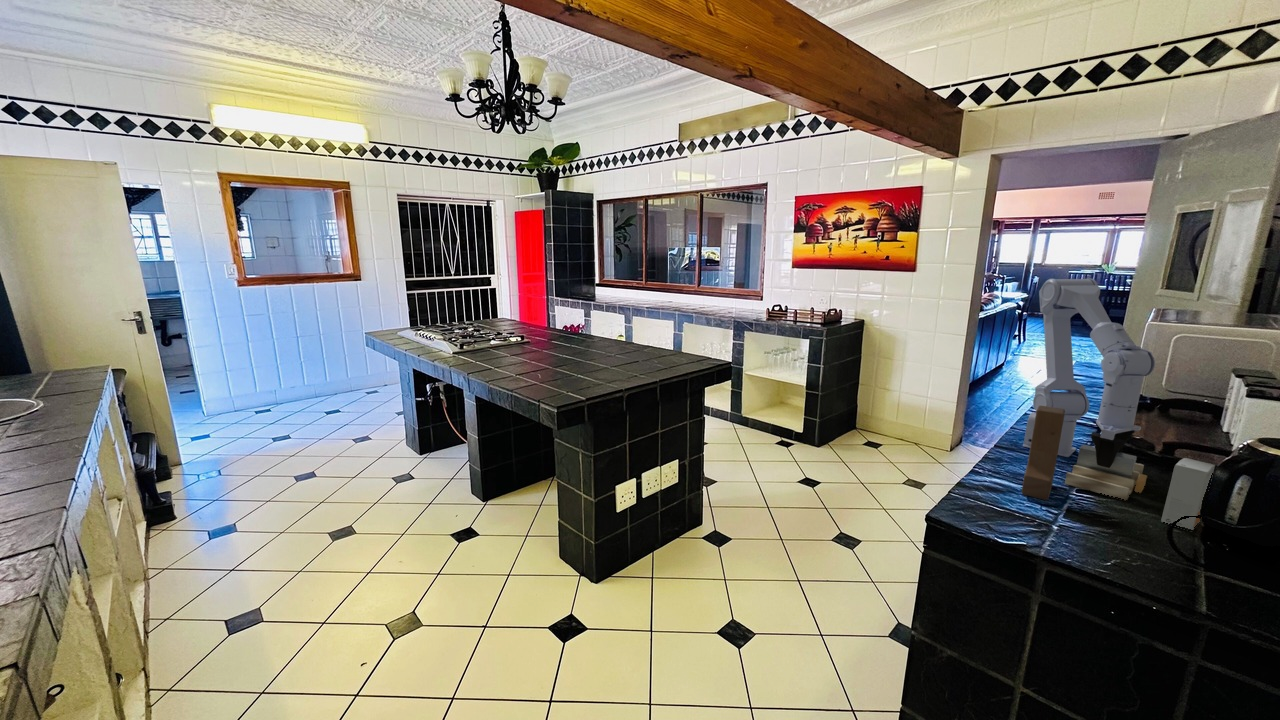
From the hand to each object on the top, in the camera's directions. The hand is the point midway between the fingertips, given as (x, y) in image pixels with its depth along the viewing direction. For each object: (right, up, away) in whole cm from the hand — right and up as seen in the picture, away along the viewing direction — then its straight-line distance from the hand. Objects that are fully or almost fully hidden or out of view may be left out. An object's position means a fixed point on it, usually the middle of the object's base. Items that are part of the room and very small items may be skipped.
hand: (1107, 461), depth 110 cm
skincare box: (-2, -8, -16) cm, 19 cm away
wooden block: (-19, -6, -3) cm, 20 cm away
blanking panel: (0, -4, +1) cm, 4 cm away
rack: (0, -4, +1) cm, 4 cm away
